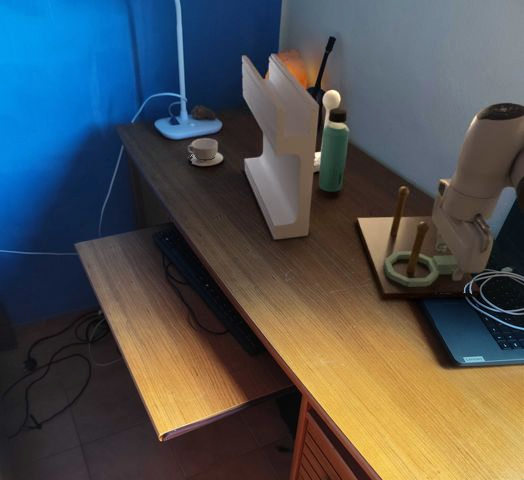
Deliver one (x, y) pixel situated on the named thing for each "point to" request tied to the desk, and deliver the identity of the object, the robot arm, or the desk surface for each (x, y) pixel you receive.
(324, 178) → the beverage bottle
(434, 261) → the hanging tag
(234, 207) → the desk surface
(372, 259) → the peg rack
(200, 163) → the teacup
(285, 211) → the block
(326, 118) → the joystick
